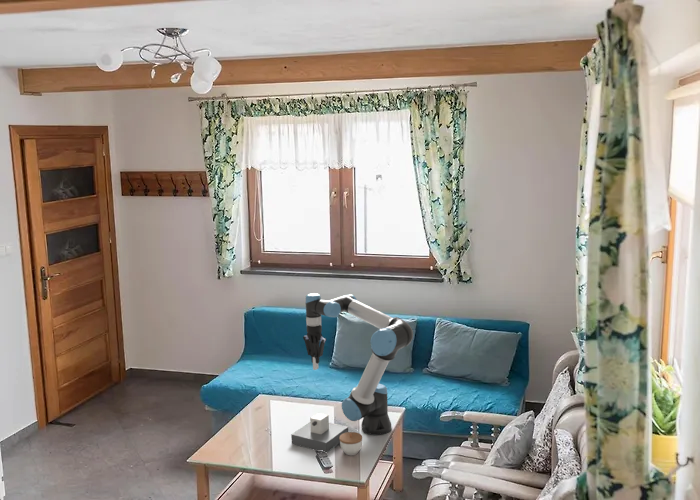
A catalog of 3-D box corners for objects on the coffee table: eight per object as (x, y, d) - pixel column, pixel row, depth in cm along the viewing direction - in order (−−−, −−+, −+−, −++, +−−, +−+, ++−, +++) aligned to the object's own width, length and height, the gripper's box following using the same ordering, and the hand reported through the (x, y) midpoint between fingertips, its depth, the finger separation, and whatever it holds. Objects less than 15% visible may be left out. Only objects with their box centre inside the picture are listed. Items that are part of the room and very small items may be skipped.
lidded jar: (355, 459, 318) (354, 440, 317) (335, 454, 324) (334, 435, 322) (366, 450, 327) (366, 431, 326) (347, 445, 333) (347, 426, 331)
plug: (329, 435, 340) (328, 415, 339) (319, 442, 333) (318, 421, 331) (319, 432, 343) (318, 412, 342) (309, 439, 336) (308, 419, 334)
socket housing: (348, 436, 343) (348, 426, 342) (326, 452, 326) (326, 442, 325) (314, 428, 353) (314, 419, 352) (291, 444, 336) (291, 434, 335)
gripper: (328, 323, 349) (330, 368, 353) (307, 320, 356) (309, 364, 360) (320, 327, 343) (322, 373, 347) (299, 324, 350) (301, 369, 354)
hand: (315, 368), depth 354 cm, fingers closed
